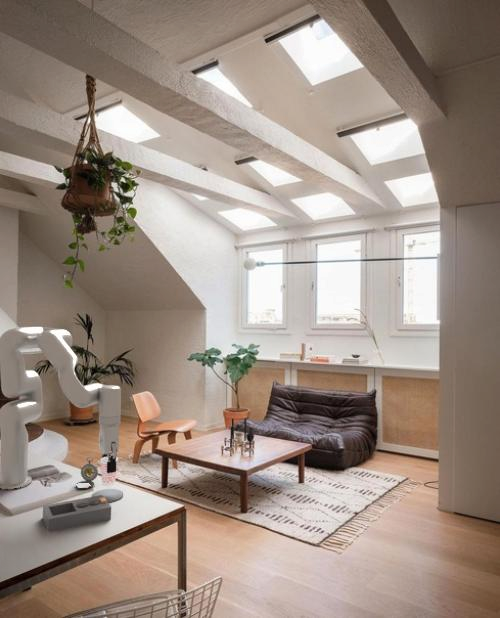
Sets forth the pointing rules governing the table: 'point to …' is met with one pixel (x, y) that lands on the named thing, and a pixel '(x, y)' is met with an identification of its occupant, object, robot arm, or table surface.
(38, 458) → the table surface
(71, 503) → the gray desk organizer
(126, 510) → the table surface
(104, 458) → the beverage cup
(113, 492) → the slate mat
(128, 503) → the table surface
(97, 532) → the table surface
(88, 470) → the pocket watch
